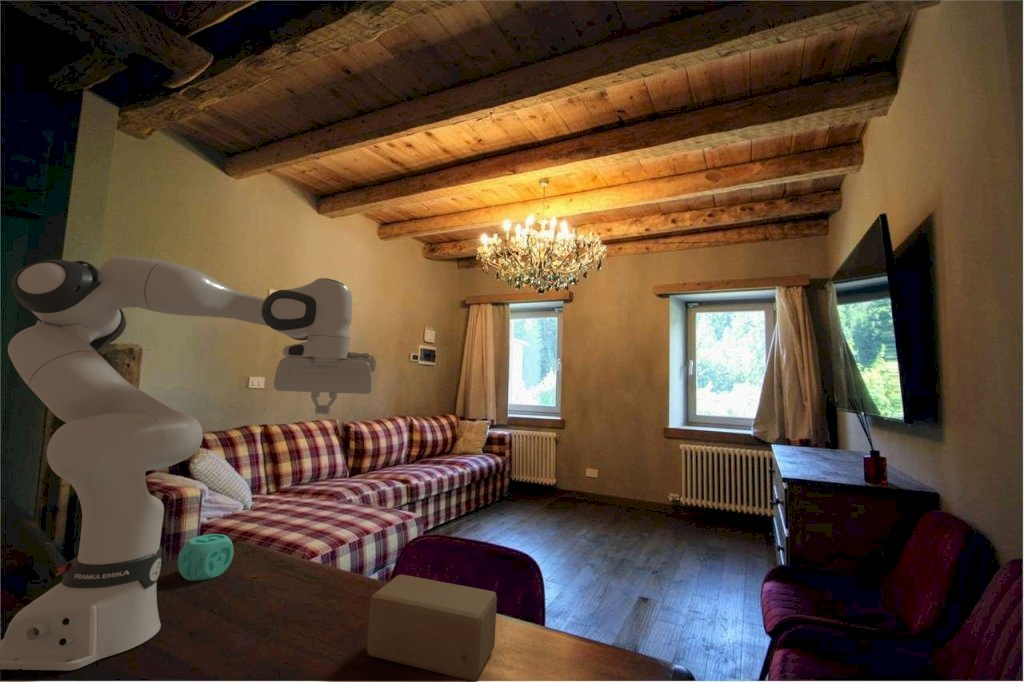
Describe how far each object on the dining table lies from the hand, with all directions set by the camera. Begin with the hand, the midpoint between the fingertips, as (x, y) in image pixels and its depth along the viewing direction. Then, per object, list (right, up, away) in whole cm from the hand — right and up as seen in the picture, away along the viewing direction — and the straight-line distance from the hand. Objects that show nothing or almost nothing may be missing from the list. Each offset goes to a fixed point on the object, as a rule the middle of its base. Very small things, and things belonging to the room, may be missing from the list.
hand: (322, 413), depth 99 cm
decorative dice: (-31, -39, +7) cm, 50 cm away
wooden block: (+18, -32, -19) cm, 42 cm away
